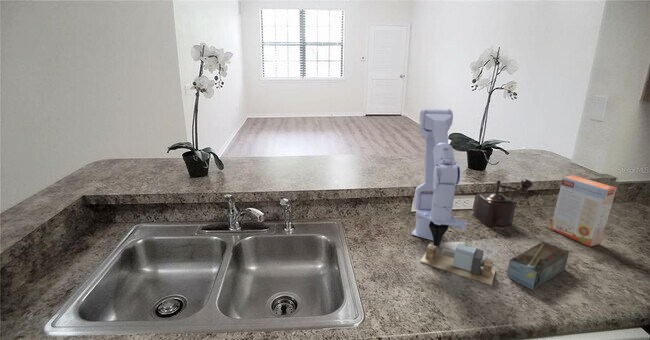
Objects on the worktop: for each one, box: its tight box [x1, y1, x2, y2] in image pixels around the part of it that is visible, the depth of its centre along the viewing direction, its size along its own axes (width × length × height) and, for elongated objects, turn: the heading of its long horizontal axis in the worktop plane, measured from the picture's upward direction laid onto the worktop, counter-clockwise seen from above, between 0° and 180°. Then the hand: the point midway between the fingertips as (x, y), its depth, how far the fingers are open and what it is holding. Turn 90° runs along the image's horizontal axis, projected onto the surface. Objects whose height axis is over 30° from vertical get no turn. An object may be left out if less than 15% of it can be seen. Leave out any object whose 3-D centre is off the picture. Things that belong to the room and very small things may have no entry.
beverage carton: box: [506, 241, 570, 291], centre depth 97 cm, size 8×19×7 cm, turn 123°
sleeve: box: [453, 243, 477, 271], centre depth 98 cm, size 5×5×6 cm
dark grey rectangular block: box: [470, 248, 485, 276], centre depth 97 cm, size 2×5×5 cm, turn 147°
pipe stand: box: [419, 241, 496, 286], centre depth 100 cm, size 20×8×4 cm, turn 58°
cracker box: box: [550, 175, 617, 247], centre depth 116 cm, size 14×6×21 cm, turn 22°
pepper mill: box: [472, 178, 534, 228], centre depth 128 cm, size 16×11×18 cm
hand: (436, 244), depth 102 cm, fingers closed
